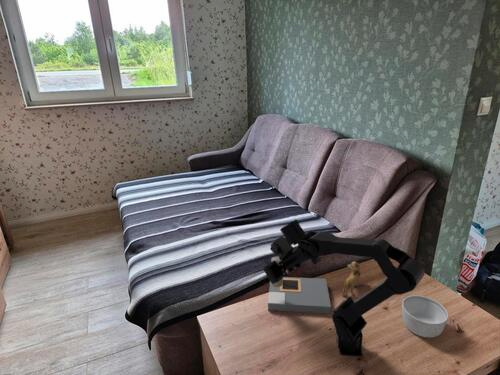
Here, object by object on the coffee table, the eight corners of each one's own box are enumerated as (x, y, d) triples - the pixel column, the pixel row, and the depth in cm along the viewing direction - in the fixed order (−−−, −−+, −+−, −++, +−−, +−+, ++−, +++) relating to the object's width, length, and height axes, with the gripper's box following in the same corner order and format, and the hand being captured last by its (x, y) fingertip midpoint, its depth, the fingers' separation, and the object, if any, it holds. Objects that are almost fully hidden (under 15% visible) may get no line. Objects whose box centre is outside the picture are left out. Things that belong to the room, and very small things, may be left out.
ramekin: (448, 346, 93) (453, 328, 91) (401, 335, 98) (403, 318, 95) (440, 316, 105) (443, 299, 102) (397, 307, 109) (400, 291, 107)
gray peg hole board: (325, 285, 123) (325, 278, 122) (330, 313, 108) (330, 306, 107) (270, 282, 125) (270, 275, 124) (268, 310, 110) (267, 302, 109)
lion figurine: (347, 277, 127) (348, 258, 124) (360, 280, 125) (362, 261, 122) (340, 299, 115) (342, 278, 112) (355, 302, 112) (357, 282, 109)
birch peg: (283, 280, 112) (282, 256, 109) (282, 287, 108) (282, 263, 105) (272, 279, 113) (271, 256, 109) (271, 286, 109) (270, 262, 106)
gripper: (302, 224, 107) (278, 242, 118) (267, 245, 95) (243, 262, 106) (321, 252, 104) (294, 267, 115) (287, 276, 92) (261, 291, 103)
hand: (274, 271), depth 110 cm, fingers closed on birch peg, 4 cm apart
